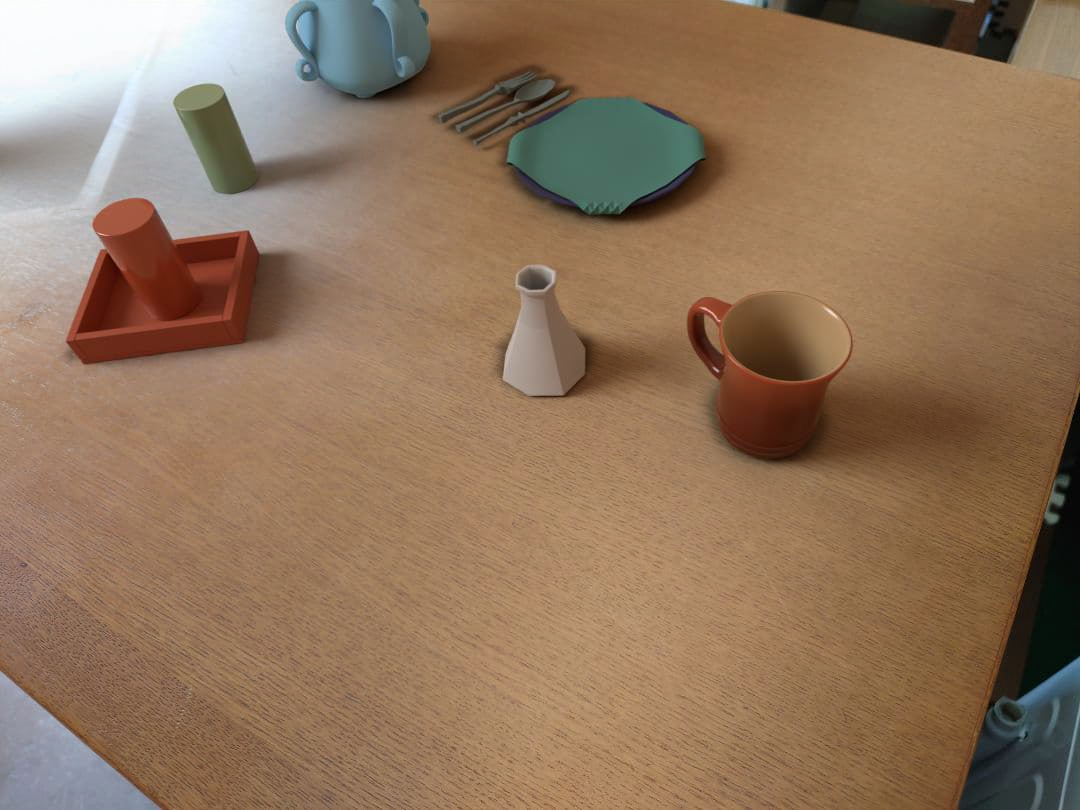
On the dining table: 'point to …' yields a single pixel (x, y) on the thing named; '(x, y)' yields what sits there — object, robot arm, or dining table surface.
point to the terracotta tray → (219, 319)
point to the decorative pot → (359, 42)
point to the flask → (542, 339)
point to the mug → (770, 366)
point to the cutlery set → (593, 147)
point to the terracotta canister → (148, 258)
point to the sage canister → (216, 137)
